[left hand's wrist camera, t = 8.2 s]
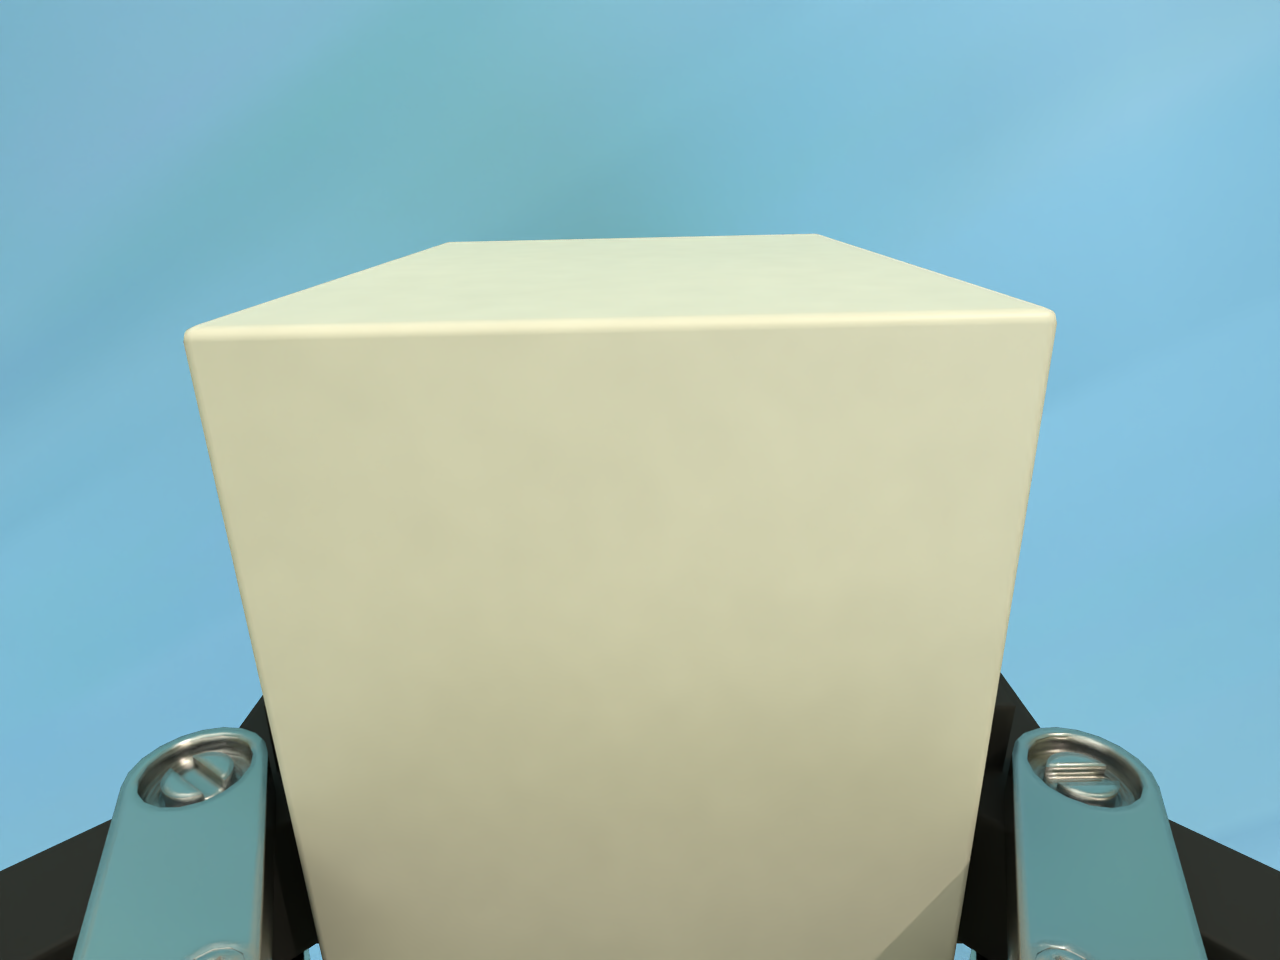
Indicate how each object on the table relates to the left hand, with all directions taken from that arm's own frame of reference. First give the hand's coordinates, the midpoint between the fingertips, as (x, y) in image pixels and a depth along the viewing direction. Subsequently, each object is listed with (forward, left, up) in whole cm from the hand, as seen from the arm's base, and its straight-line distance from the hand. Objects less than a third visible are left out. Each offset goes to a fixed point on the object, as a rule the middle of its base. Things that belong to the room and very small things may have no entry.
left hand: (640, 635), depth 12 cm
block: (+17, -18, -3) cm, 25 cm away
